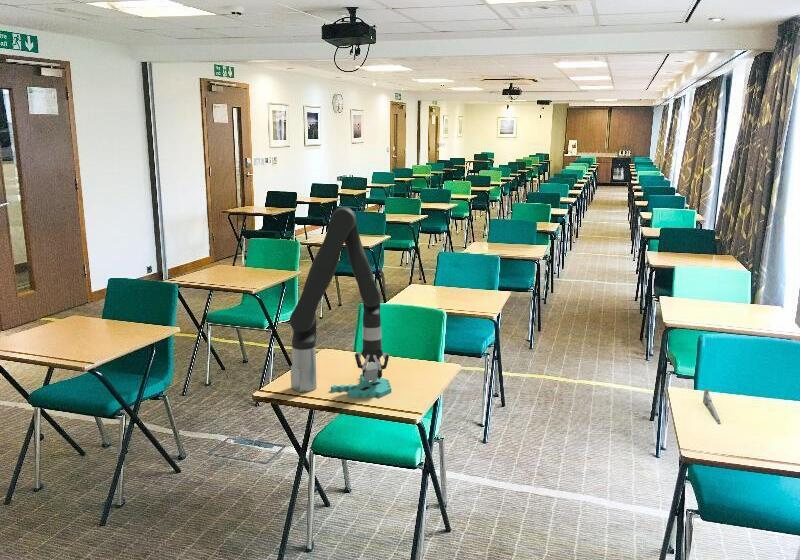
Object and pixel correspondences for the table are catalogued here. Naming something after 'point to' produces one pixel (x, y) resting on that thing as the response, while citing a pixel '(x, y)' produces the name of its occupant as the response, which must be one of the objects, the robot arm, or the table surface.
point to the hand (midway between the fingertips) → (372, 378)
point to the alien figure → (366, 388)
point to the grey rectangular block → (371, 372)
